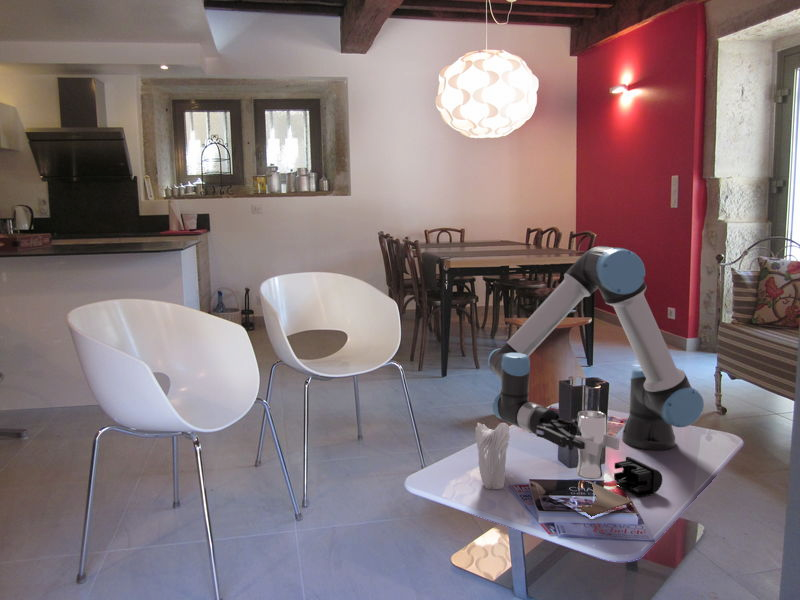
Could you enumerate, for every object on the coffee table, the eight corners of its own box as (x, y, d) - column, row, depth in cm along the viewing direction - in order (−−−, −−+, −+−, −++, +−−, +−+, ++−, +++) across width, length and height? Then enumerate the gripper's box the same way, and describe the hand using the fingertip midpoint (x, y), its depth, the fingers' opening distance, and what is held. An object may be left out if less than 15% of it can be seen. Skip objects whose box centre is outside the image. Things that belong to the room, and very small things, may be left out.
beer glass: (583, 481, 158) (586, 420, 156) (569, 470, 165) (571, 411, 163) (609, 478, 160) (613, 417, 158) (594, 467, 167) (597, 409, 165)
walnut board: (588, 485, 173) (588, 480, 173) (632, 505, 161) (632, 500, 161) (548, 497, 166) (548, 492, 166) (591, 519, 154) (591, 514, 154)
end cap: (662, 494, 168) (663, 468, 167) (639, 499, 165) (641, 472, 164) (633, 479, 177) (635, 454, 176) (612, 483, 174) (613, 458, 173)
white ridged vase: (473, 481, 176) (474, 414, 173) (504, 480, 176) (505, 414, 174) (478, 494, 168) (479, 425, 165) (511, 493, 168) (512, 424, 166)
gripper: (565, 427, 182) (634, 454, 163) (510, 440, 172) (577, 470, 153) (566, 401, 181) (636, 425, 162) (511, 412, 171) (578, 438, 152)
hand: (607, 447), depth 157 cm, fingers closed on beer glass, 6 cm apart
